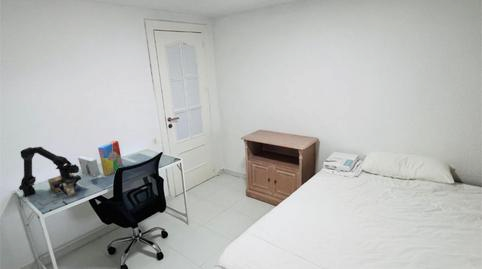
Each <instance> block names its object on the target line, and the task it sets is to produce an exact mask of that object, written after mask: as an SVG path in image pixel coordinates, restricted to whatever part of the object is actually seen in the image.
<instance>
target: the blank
mask: <svg viewBox="0 0 482 269" xmlns="http://www.w3.org/2000/svg"><path fill="white" fill-rule="evenodd" d="M62 187H63V190H64V193H65V194H66V195H67V196H68V197H70V196H73V195H75V189H74V187H72V186H71V184H69V185H66V184H65V183H64V184H63V186H62Z"/></svg>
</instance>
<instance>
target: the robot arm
mask: <svg viewBox="0 0 482 269" xmlns="http://www.w3.org/2000/svg"><path fill="white" fill-rule="evenodd" d="M19 154H20V156H21V159H22V160H23V177H22V179H21V180H20V182H21V183H20V185H19V187H18V190H20V191H22V193H23V196H24V197H25V198H26V197H29V196H32V195H33V196H34V195H35V194H36V190H35V187H34V185H35V183H36V181H37V178H36V177H37V176H34V175H33V158H34V157H35V154H38V155H40V156H42V157H44V158H45V159H48V160H50V161H51V162H52V163H53V165H55V166H56V167H55V170H58V171H59V176H61V179H62V182H55V183H52V187H53V188H60V189H61V191H62V194H63V193H65V190H64V187H63V186H61V184H64V183H65V184H66V185H69V184H72V183H73V189H74V190H75V189H76V186H77V182H79V181H81V180H82V178H81V176H80V175H79V174H78V173H79V172H80V166H78V165H77V164H72V163H71V162H70V160H68V158H67V157H65V156H62V155H57V154H55V153H52V152H50V151H49V150H47V149H45V148H43V147H42V146H36V147H35V146H34V147H31V146H30V147H26V148H24V149H22V150H20V153H19ZM69 173H72V174H76V175H74V176H73V177H71V176H70V174H69Z"/></svg>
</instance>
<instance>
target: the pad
mask: <svg viewBox="0 0 482 269" xmlns="http://www.w3.org/2000/svg"><path fill="white" fill-rule="evenodd" d="M66 197H68V194H67V193H66V192H64V193H63V192H62V193H61V194H58V195H55V196H52V197H49V198H47V199H44V200H41V201H39V203H40V205H41V206H42V205H43V206H45V204H46V205H48V204H51V203H53V202H57V201H58V200H59V201H60V200H61V199H64V198H66Z"/></svg>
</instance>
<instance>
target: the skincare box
mask: <svg viewBox="0 0 482 269" xmlns="http://www.w3.org/2000/svg"><path fill="white" fill-rule="evenodd" d="M77 159H78V163H79V168H80V170H81V173H83V174H85V175H89V176H92V177H97V176H99V175H101V172H100V168H99V165H98V162H97V161H98V160H97V158H93V157H89V156H87V155H86V156H85V155H81V156H78V158H77Z"/></svg>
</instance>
